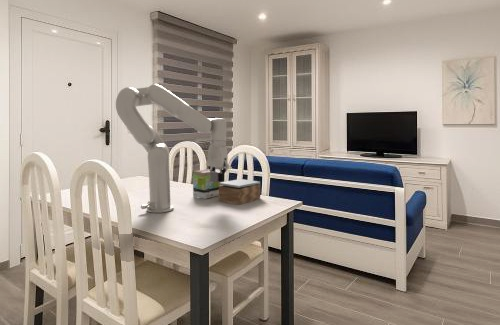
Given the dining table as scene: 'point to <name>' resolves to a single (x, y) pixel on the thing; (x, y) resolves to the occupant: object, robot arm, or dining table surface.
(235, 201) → the box
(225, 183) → the lid
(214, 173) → the block
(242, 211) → the dining table surface
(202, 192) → the tea box
